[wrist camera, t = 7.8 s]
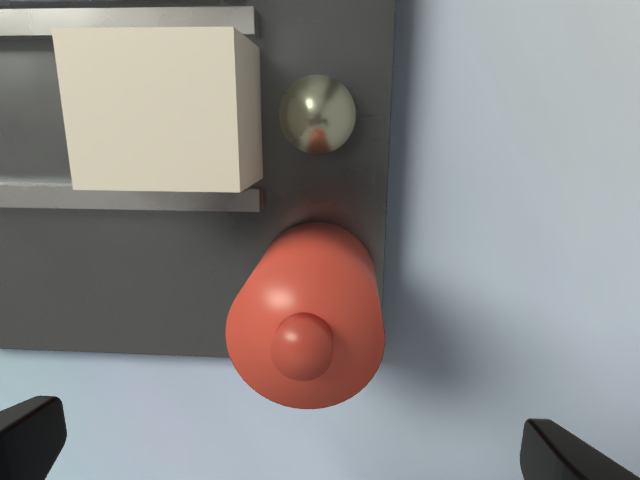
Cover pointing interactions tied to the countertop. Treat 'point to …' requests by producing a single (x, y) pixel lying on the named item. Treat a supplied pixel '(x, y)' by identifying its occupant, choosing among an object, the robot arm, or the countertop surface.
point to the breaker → (160, 108)
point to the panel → (185, 207)
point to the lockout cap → (308, 319)
